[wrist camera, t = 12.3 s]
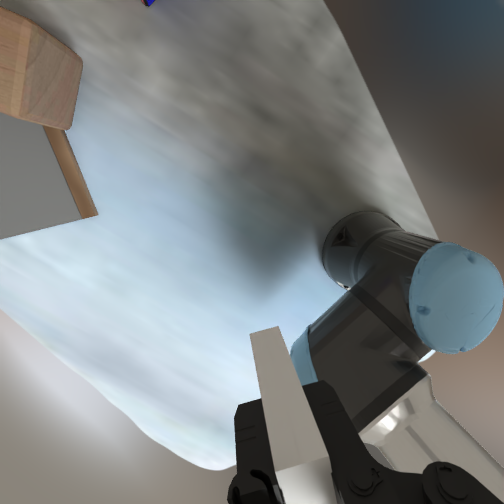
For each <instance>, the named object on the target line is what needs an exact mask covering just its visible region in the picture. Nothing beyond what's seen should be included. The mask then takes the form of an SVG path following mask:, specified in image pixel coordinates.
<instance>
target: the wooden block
mask: <svg viewBox="0 0 504 504" xmlns="http://www.w3.org/2000/svg"><path fill="white" fill-rule="evenodd" d="M82 68H83V62H82V59H81V58H80V57H79V56H78V55H77V54H76V53H75V52H74V51H72V50H71V49H69V48H68V47H67V46H65V45H64V44H63V43H61V42H60V41H59V40H57V39H56V38H55V37H53V36H52V35H51V34H49V33H48V32H47V31H45V30H44V29H43V28H41V27H40V26H39V25H37V24H36V23H34V22H33V21H32V20H30V19H28V18H26V17H24V16H21V15H19V14H17V13H14V12H12V11H10V10H8V9H5V8H3V7H1V6H0V112H1V113H4V114H6V115H9V116H12V117H14V118H17V119H21V120H25V121H29V122H33V123H37V124H41V125H45V126H49V127H53V128H57V129H61V130H68V129H70V127H71V126H72V121H73V116H74V110H75V105H76V100H77V95H78V89H79V84H80V79H81V74H82Z"/></svg>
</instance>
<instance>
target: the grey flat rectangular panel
mask: <svg viewBox="0 0 504 504" xmlns="http://www.w3.org/2000/svg"><path fill="white" fill-rule="evenodd" d="M80 219H82V216H81V214H80V212H79V209H78V207H77V204H76V202H75V200H74V197H73V195H72V193H71V190H70V188H69V186H68V183H67V181H66V179H65V176H64V174H63V172H62V169H61V167H60V164H59V162H58V160H57V157H56V155H55V153H54V150H53V148H52V146H51V143H50V141H49V139H48V136H47V134H46V132H45V129H44V127H43V125H41V124H37V123H33V122H29V121H25V120H21V119H17V118H14V117H12V116H9V115H6V114H4V113H1V112H0V239H4V238H8V237H12V236H16V235H20V234H24V233H28V232H32V231H36V230H40V229H44V228H48V227H52V226H56V225H60V224H64V223H68V222H72V221H76V220H80Z"/></svg>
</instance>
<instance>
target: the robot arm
mask: <svg viewBox="0 0 504 504" xmlns="http://www.w3.org/2000/svg"><path fill="white" fill-rule="evenodd" d="M323 263H324V267H325V270H326V272H327V273H328V275H329V276H330V278H331V279H332V280H333V281H335V282H336V283H337V284H338V285H339V286H341V287H342V288H344V289H346V290H348V291H347V292H346V293H345V294H344V295H343V296H342V297H341V298H340V299H339V300H337V301H336V302H335V303H334V304H333V305H332V306H331V307H330V308H329V309H328V310H327V311H326V312H325V313H324V314H323V315H322V316H320V317H319V318H318V319H317V320H316V321H315V322H314V323H313V324H312V325H311V324H310V325H309V326H308V327H307V328H306V330H305V332H304V333H303V334H302V335H301V336H300V337H299V338H298V339H297V340H296V341H295V342H294V343H293V345H292V347H291V352H290V355H289V352H288V350H287V347H286V345H285V342H284V339H283V337H282V334H281V332H280V329H279V327H278V326H276V327H273V328H269V329H266V330H262V331H258V332H255V333H251V334H250V339H251V344H252V350H253V355H254V361H255V366H256V371H257V377H258V382H259V388H260V393H261V399H257V400H254V401H250V402H247V403H243V404H240V405H238V408H237V411H236V414H235V416H234V425H235V442H236V462H237V475H236V476H235V477H234V478H233V480H232V482H231V484H230V486H229V490H228V497H227V501H228V503H229V504H504V468H503V467H502V466H501V465H500V464H499V463H498V462H497V461H496V460H495V459H494V458H493V457H492V456H491V455H490V454H489V453H488V452H487V451H486V450H485V449H484V448H483V447H482V445H481V444H480V443H479V442H478V441H477V440H476V439H475V438H473V436H472V435H470V433H469V432H468V431H467V430H466V429H464V427H462V425H461V424H460V423H459V422H457V420H455V418H454V417H453V416H452V415H451V414H450V413H449V412H448V411H447V410H446V409H445V408H444V407H443V406H442V405H441V404H440V403H439V402H438V401H437V400H436V399H435V397H434V395H433V390H432V380H431V376H430V375H429V374H428V373H427V372H426V371H425V370H424V369H423V368H422V367H421V366H420V365H419V364H418V361H419V360H420V359H421V358H422V357H424V356H425V355H426V354H427V353H428V352H430V351H431V350H432V349H433V350H435V351H439V352H442V353H446V354H457V353H458V352H459V350H460V351H462V352H465V351H468V350H470V349H472V348H474V347H476V346H477V345H479V344H480V343H481V342H482V341H483V340H484V339H485V338H486V337H487V336H488V335H489V334H490V332H491V331H492V330H493V328H494V327H495V325H496V323H497V321H498V319H499V317H500V314H501V310H502V307H503V305H502V301H503V297H504V287H503V282H502V279H501V276H500V274H499V272H498V270H497V269H496V267H495V266H494V265H493V263H492V262H491V261H489V260H488V259H487V258H486V257H484V256H483V255H481V254H479V253H476V252H474V251H471V250H468V249H466V248H463V247H461V246H460V245H457V244H455V243H451V242H443V241H440V240H436V239H432V238H429V237H425V236H421V235H418V234H414V233H410V232H406V231H405V230H404V229H402V228H401V227H400V226H399V224H398V223H397V222H396V221H394V220H393V219H392V218H390V217H388V216H386V215H384V214H380V213H376V212H370V211H362V212H357V213H353V214H351V215H349V216H347V217H345V218H343V219H342V220H341V221H339V222H338V223H337V224H336V225H335V226H334V227H333V228H332V230H331V231H330V233H329V234H328V236H327V238H326V241H325V244H324V247H323ZM363 442H365V443H369V444H373V445H374V446H376V447H378V448H379V450H380V451H381V452H382V454H383V455H384V456H385V457H386V459H387V460H388V461H389V463H390V464H391V465H392V467H393V468H394V469H395V471H394V470H391V469H389V468H386V467H384V466H383V465H381V464H380V463H378V462H377V461H376V460H375V459H374V458H373V457H372V456H371V455H370V454H369V452H368V451H367V449H366V447H365V445H364V443H363Z"/></svg>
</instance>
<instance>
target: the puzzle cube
mask: <svg viewBox="0 0 504 504" xmlns="http://www.w3.org/2000/svg"><path fill="white" fill-rule="evenodd" d="M141 1H142V2H143V3H144V5H145V6H150V5H151V4H152V3H153V2H154V1H155V0H141Z"/></svg>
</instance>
